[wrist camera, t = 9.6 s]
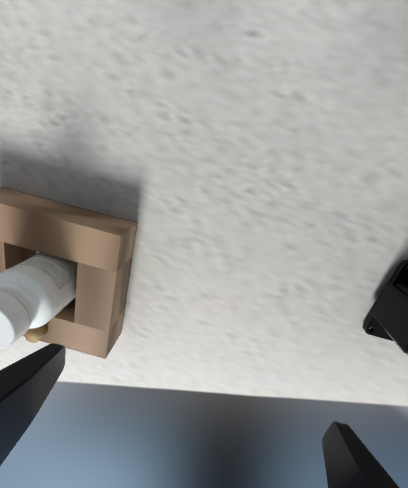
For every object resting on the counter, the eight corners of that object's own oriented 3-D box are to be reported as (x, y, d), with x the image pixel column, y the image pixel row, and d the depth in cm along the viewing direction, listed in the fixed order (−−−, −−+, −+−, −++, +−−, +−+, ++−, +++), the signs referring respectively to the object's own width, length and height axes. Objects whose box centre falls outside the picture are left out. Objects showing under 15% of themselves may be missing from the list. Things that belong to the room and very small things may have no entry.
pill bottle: (42, 238, 21) (-60, 284, 13) (94, 249, 20) (18, 302, 13) (45, 284, 22) (-46, 348, 15) (93, 294, 22) (24, 364, 15)
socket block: (137, 223, 19) (114, 241, 16) (120, 333, 23) (99, 368, 20) (0, 186, 19) (-56, 195, 16) (7, 302, 23) (-36, 331, 20)
